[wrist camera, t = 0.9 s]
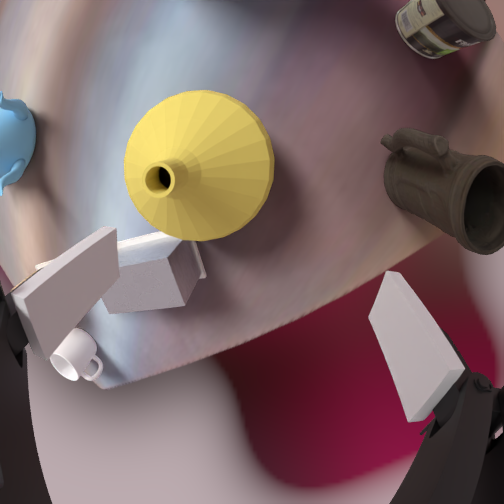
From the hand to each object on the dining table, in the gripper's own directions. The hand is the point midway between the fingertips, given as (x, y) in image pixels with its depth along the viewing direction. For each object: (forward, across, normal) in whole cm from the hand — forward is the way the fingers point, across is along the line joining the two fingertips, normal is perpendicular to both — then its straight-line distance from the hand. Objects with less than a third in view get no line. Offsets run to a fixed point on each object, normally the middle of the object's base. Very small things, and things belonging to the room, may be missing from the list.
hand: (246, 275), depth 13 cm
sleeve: (+28, -16, -15) cm, 36 cm away
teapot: (+29, -50, +6) cm, 59 cm away
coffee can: (+29, +21, +31) cm, 48 cm away
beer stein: (+29, +20, +6) cm, 36 cm away
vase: (+29, -8, +2) cm, 30 cm away
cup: (+28, -36, -42) cm, 62 cm away
